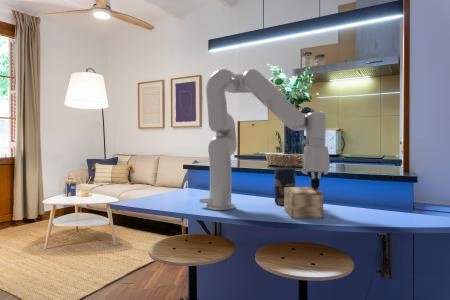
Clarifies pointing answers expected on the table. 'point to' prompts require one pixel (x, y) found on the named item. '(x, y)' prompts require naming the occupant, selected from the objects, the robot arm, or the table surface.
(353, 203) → the table surface
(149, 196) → the table surface
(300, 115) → the robot arm
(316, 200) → the brown wooden box
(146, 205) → the table surface
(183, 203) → the table surface
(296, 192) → the lid
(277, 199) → the canister
